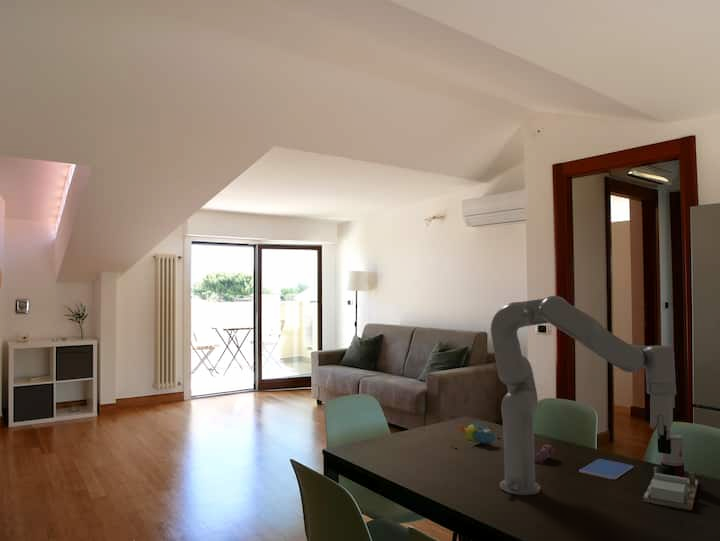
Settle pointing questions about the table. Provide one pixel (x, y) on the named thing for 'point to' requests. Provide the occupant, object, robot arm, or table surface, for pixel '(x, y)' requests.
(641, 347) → the robot arm
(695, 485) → the base board
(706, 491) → the table surface
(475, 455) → the table surface
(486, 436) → the owl figurine
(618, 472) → the tablet computer
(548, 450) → the video game controller
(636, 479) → the table surface
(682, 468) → the beverage can
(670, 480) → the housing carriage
